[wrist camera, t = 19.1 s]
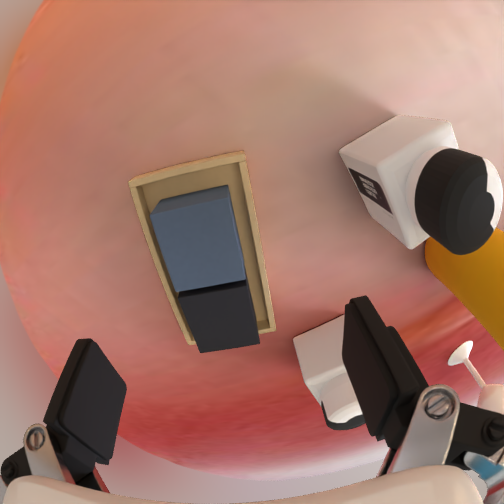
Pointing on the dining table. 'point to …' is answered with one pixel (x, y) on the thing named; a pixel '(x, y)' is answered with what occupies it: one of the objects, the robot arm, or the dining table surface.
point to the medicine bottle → (329, 374)
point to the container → (425, 184)
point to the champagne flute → (480, 381)
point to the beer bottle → (474, 279)
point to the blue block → (199, 238)
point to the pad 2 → (221, 315)
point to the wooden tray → (237, 178)
